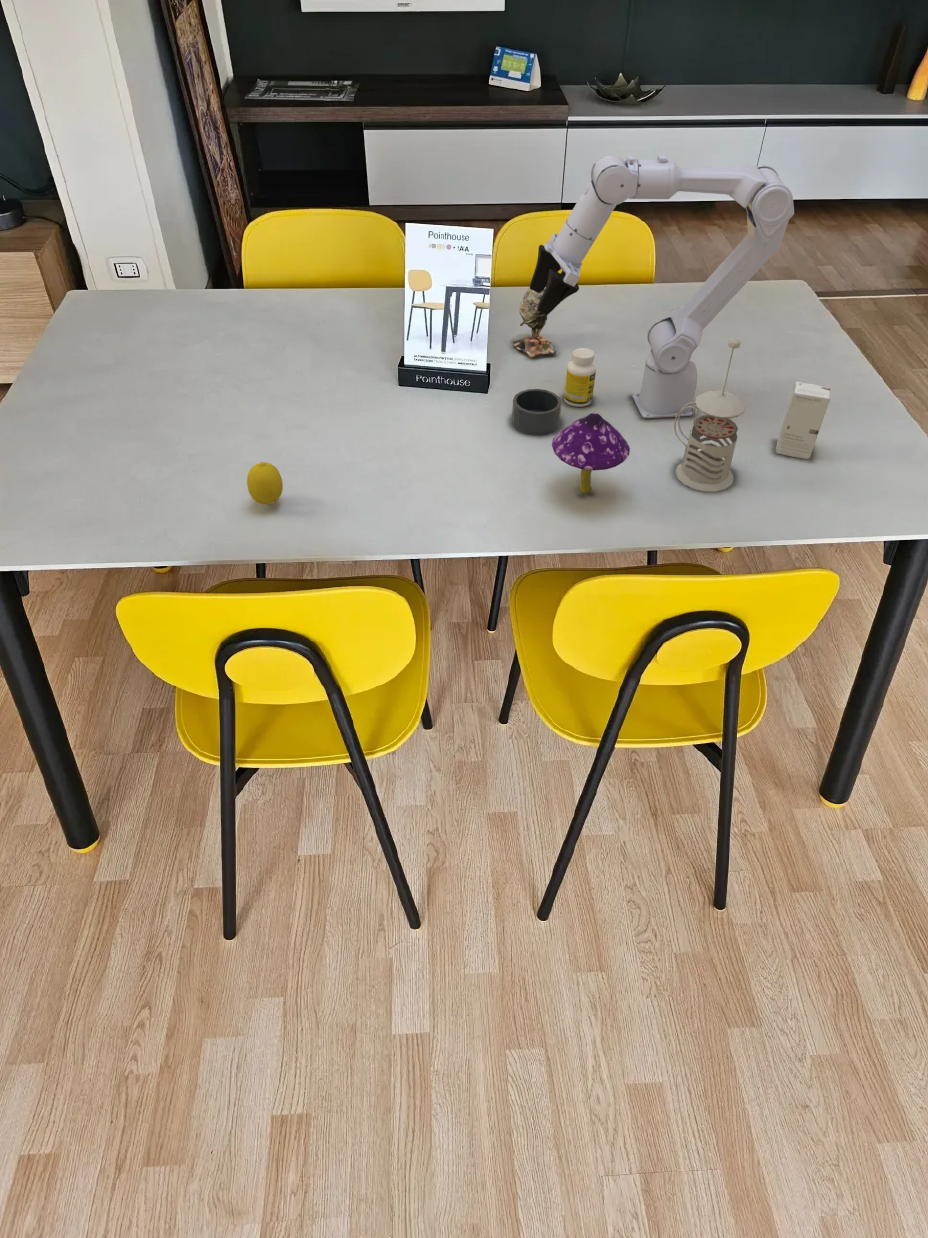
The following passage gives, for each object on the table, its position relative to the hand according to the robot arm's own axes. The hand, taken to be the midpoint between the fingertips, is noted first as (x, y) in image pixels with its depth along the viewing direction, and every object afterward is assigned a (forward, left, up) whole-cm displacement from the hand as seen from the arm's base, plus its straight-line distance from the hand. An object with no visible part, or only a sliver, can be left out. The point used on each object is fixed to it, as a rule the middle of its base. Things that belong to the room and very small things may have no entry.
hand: (538, 300), depth 163 cm
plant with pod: (-5, -23, -21) cm, 31 cm away
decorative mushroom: (-4, +28, -21) cm, 35 cm away
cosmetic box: (-44, +20, -21) cm, 52 cm away
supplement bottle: (-9, -1, -21) cm, 23 cm away
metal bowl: (0, +6, -21) cm, 21 cm away
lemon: (+48, +26, -21) cm, 59 cm away
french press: (-25, +25, -21) cm, 41 cm away
